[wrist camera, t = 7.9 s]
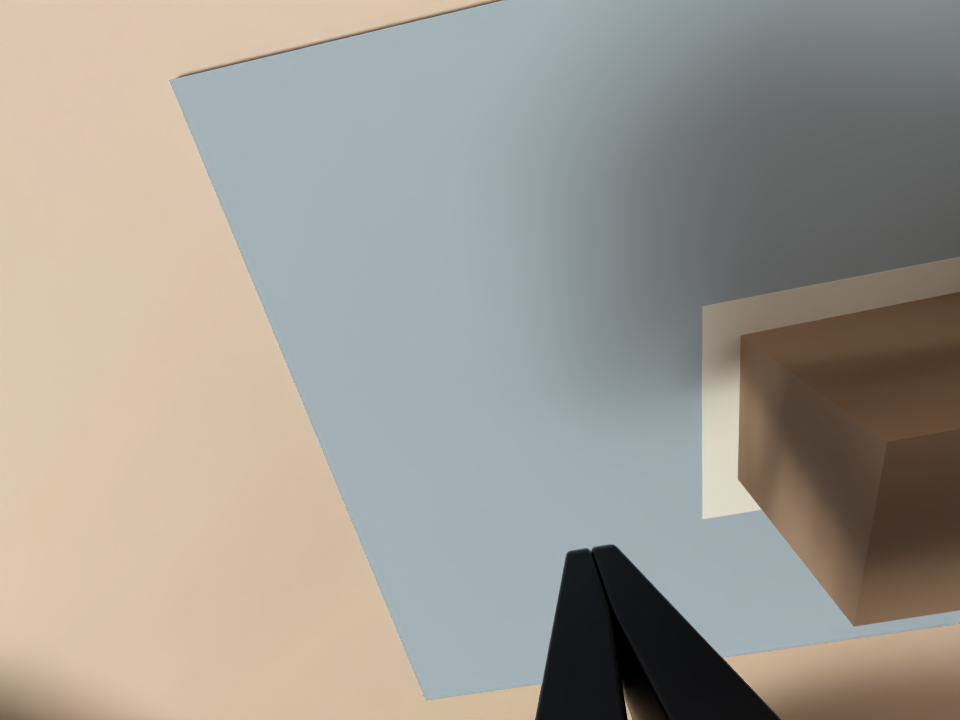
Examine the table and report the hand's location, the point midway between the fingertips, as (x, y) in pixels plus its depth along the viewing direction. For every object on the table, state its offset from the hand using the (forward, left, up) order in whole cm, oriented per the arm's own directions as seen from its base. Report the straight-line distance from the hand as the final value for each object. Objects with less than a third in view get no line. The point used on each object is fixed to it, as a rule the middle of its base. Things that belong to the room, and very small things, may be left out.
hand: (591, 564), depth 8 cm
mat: (0, -5, -4) cm, 7 cm away
